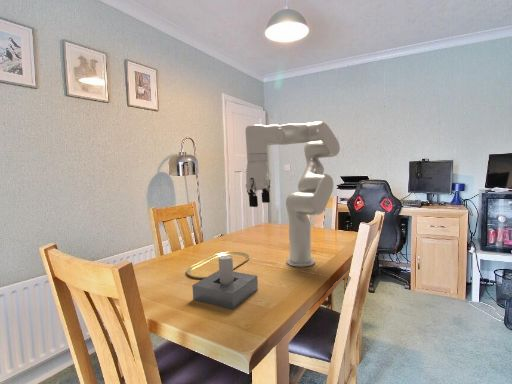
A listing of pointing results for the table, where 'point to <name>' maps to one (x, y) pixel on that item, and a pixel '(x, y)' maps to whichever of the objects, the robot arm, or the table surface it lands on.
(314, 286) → the table surface
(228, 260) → the beverage can
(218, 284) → the socket block
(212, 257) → the gold oval ring
